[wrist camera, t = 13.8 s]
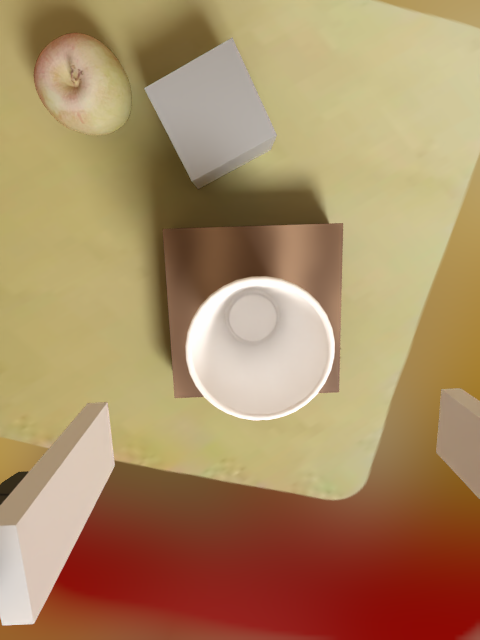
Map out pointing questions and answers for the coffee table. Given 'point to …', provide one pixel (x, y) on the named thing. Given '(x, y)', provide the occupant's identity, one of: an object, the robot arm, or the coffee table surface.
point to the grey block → (213, 114)
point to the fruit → (83, 85)
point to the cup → (260, 348)
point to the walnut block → (249, 261)
